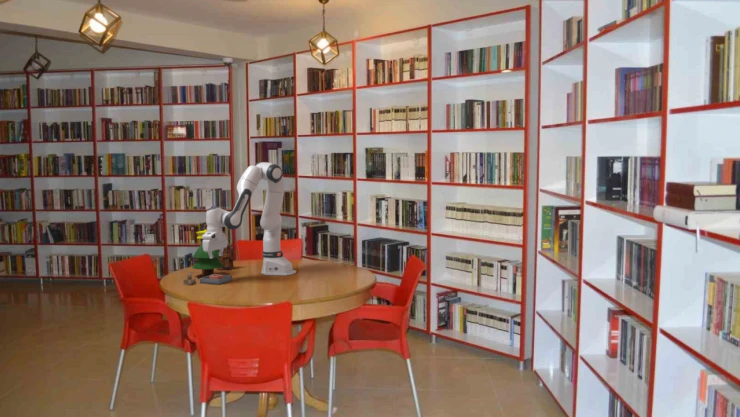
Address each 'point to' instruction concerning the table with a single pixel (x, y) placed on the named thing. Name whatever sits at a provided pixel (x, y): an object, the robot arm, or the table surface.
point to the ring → (216, 276)
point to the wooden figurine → (226, 258)
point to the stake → (189, 280)
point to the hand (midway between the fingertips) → (216, 257)
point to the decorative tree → (206, 259)
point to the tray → (216, 280)
